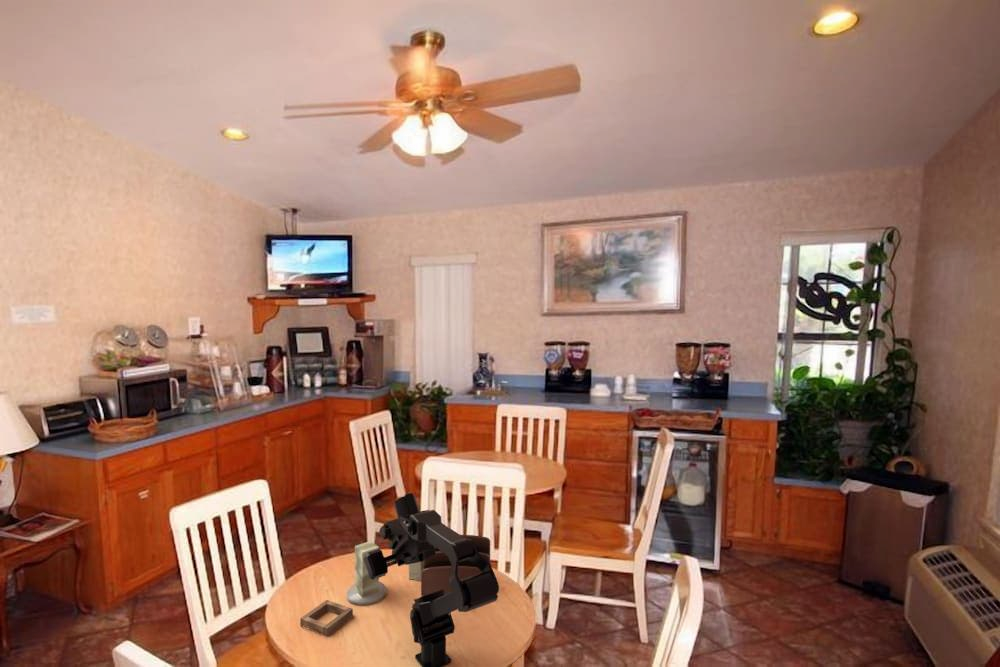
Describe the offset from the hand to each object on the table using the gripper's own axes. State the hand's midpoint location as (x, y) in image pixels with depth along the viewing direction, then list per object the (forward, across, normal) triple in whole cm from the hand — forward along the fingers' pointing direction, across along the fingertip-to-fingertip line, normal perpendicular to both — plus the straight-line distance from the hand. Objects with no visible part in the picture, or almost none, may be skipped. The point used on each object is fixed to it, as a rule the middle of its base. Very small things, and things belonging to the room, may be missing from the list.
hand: (389, 568), depth 132 cm
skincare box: (+17, -16, 0) cm, 23 cm away
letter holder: (+8, -21, +10) cm, 25 cm away
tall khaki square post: (+16, +1, -1) cm, 17 cm away
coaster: (+17, +1, 0) cm, 17 cm away
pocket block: (+14, +14, +3) cm, 20 cm away
